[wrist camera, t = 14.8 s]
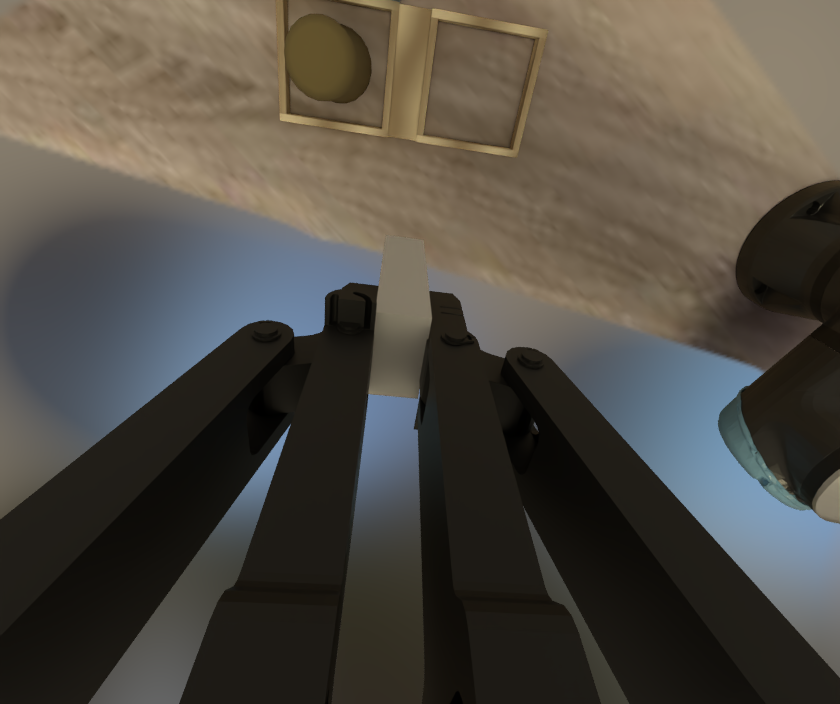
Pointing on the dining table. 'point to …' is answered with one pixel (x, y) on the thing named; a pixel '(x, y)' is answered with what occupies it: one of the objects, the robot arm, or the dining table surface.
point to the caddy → (414, 73)
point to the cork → (327, 59)
